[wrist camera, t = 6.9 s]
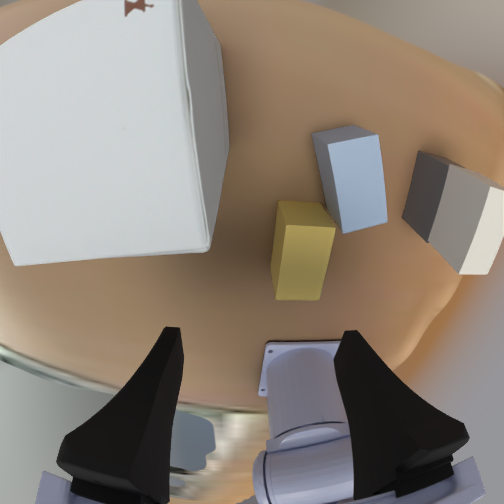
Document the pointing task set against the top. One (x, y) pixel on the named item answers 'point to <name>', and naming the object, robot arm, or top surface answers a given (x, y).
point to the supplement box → (112, 132)
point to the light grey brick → (469, 221)
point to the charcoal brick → (426, 192)
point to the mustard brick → (300, 250)
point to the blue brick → (351, 176)
